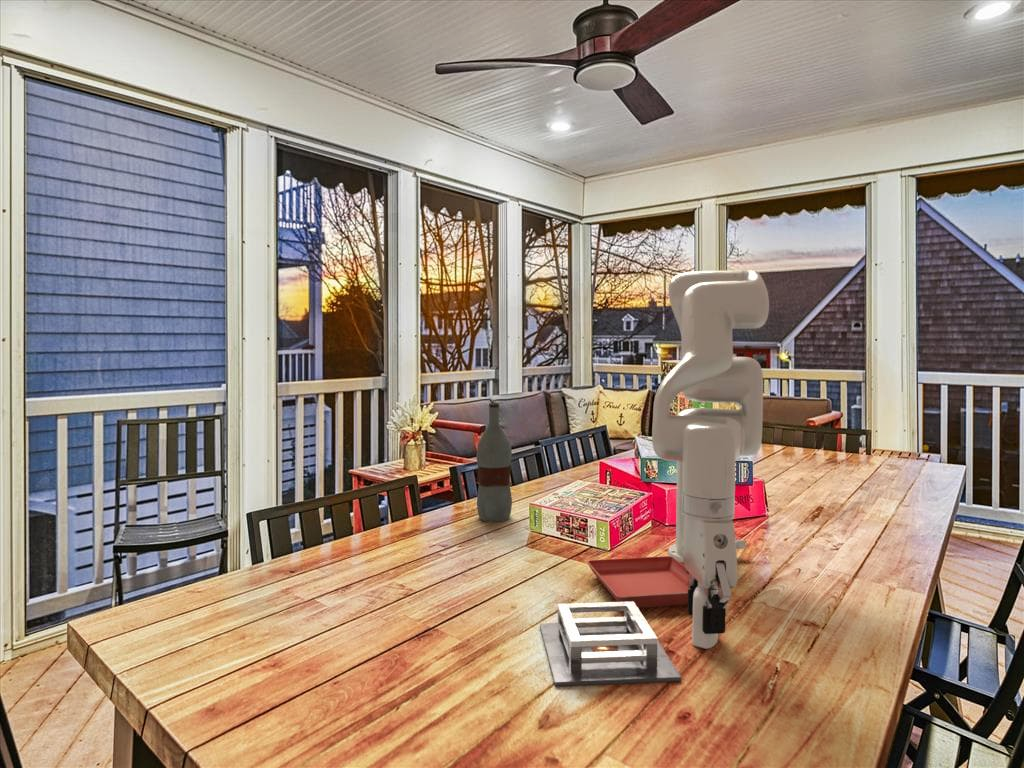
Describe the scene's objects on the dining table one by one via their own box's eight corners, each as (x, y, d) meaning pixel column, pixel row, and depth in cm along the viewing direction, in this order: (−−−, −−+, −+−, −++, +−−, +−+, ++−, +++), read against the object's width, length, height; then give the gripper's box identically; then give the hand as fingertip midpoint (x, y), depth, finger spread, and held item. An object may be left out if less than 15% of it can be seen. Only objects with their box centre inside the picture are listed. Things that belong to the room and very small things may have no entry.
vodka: (496, 510, 165) (496, 400, 163) (519, 517, 159) (519, 403, 157) (469, 517, 159) (468, 403, 157) (492, 524, 152) (491, 405, 150)
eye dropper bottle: (680, 639, 93) (682, 562, 92) (708, 631, 95) (709, 556, 95) (702, 651, 89) (703, 571, 88) (729, 643, 92) (731, 565, 91)
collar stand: (644, 623, 98) (644, 594, 98) (681, 681, 81) (681, 646, 81) (539, 627, 97) (539, 597, 97) (555, 686, 80) (555, 651, 80)
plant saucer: (671, 570, 122) (671, 554, 122) (717, 608, 105) (717, 589, 104) (585, 576, 119) (585, 560, 119) (617, 616, 101) (617, 597, 101)
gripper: (759, 521, 83) (756, 650, 84) (709, 491, 100) (707, 599, 101) (705, 522, 82) (703, 652, 83) (664, 492, 99) (663, 600, 100)
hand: (705, 622), depth 92 cm, fingers closed on eye dropper bottle, 5 cm apart
